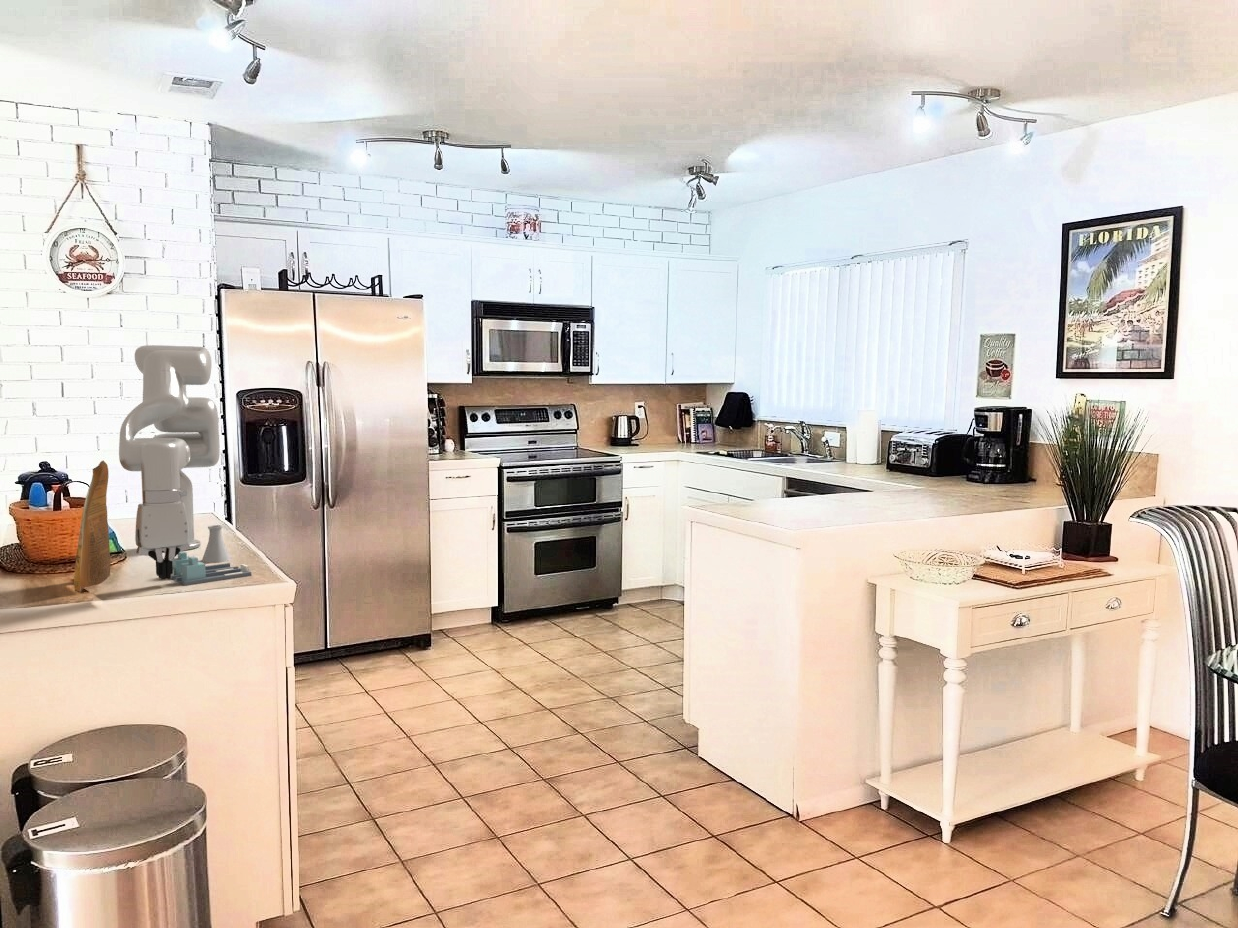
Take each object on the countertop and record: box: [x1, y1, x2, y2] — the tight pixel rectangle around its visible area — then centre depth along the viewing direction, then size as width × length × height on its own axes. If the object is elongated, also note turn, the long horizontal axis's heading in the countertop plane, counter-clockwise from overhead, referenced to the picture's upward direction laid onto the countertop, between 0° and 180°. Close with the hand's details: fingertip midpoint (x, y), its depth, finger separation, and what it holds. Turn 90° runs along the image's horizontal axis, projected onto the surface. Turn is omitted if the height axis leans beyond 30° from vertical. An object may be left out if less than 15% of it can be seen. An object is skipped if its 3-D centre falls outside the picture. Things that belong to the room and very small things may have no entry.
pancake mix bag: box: [73, 460, 111, 594], centre depth 203 cm, size 7×19×28 cm, turn 16°
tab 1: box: [172, 551, 190, 575], centre depth 209 cm, size 4×4×6 cm
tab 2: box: [181, 555, 206, 581], centre depth 204 cm, size 4×4×6 cm
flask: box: [200, 524, 232, 564], centre depth 226 cm, size 7×7×10 cm
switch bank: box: [170, 562, 253, 587], centre depth 210 cm, size 14×15×3 cm
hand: (164, 578), depth 200 cm, fingers closed
